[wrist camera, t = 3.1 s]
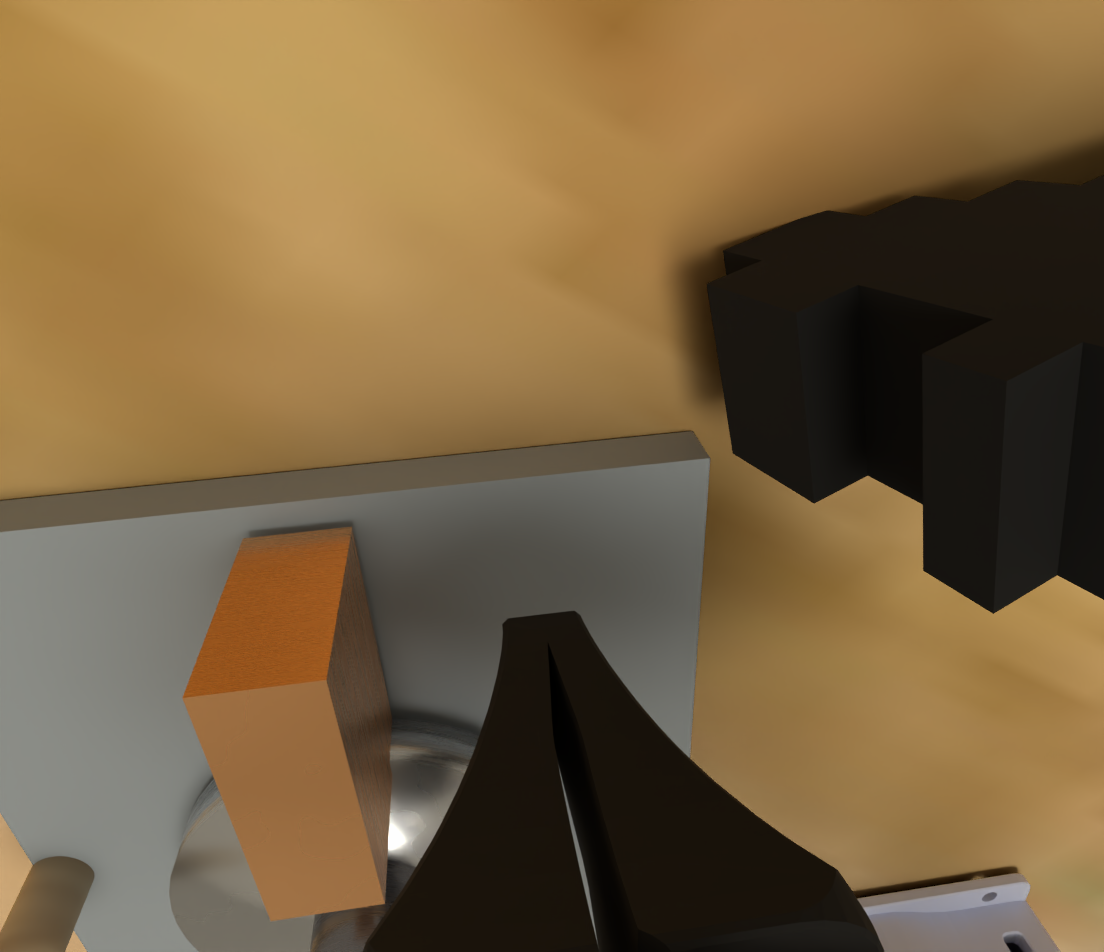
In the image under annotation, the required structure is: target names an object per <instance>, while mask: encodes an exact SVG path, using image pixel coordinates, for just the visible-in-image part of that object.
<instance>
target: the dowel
mask: <svg viewBox="0 0 1104 952" xmlns="http://www.w3.org/2000/svg"><path fill="white" fill-rule="evenodd" d="M94 876H95V875H94V871H93V870H92V868H91V867H90V866H89V865H88V864H86V863H85V862H83V861H81V860H78V859H75V858H71V857H65V856H55V857H48V858H44V859H42V860H40V861H38V862H36V863H35V864H34V865H33V866H32V868H31V870H30V872H29V874H28V876H27V878H26V880H25V882H24V884H23V886H22V889H21V891H20V893H19V895H18V897H17V899H16V901H15V903H14V905H13V907H12V909H11V911H10V913H9V915H8V917H7V920H6V922H5V924H4V926H3V928H2V930H1V932H0V952H65V950H66V947H67V945H68V943H69V940H70V938H71V935H72V933H73V930H74V928H75V925H76V923H77V920H78V918H79V915H80V913H81V910H82V908H83V905H84V903H85V900H86V898H87V895H88V893H89V890H90V888H91V885H92V883H93V880H94Z"/></svg>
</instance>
